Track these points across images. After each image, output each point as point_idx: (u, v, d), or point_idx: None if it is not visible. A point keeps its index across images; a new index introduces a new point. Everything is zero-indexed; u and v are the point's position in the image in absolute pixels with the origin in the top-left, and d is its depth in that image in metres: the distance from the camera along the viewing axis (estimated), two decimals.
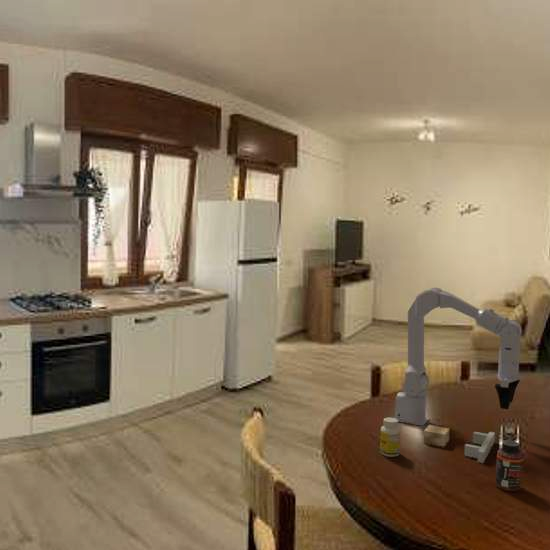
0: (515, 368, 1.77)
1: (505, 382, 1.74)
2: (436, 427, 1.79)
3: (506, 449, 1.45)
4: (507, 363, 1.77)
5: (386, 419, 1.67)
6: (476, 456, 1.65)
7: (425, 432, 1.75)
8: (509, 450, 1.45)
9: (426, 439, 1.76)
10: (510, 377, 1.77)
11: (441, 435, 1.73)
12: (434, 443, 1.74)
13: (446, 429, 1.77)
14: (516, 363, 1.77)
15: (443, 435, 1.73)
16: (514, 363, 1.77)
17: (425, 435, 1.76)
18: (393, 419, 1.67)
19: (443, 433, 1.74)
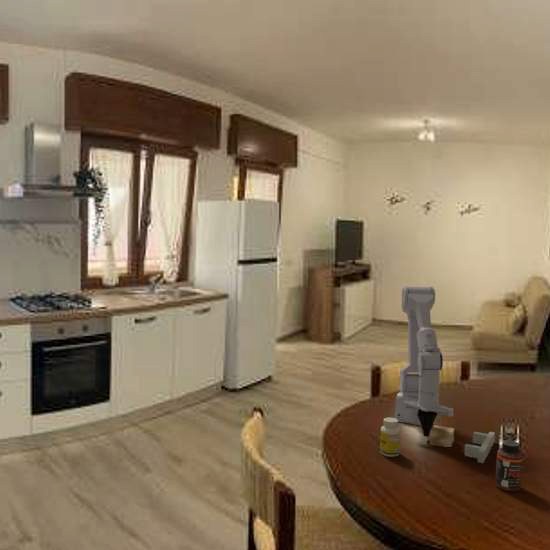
0: (420, 396, 1.76)
1: None
2: (441, 427, 1.78)
3: (506, 449, 1.45)
4: None
5: (386, 419, 1.67)
6: (476, 456, 1.65)
7: (431, 433, 1.74)
8: (509, 450, 1.45)
9: (432, 440, 1.75)
10: (418, 404, 1.78)
11: (448, 436, 1.72)
12: (440, 443, 1.74)
13: (451, 429, 1.77)
14: (421, 392, 1.76)
15: (450, 435, 1.72)
16: (419, 391, 1.77)
17: (431, 436, 1.74)
18: (393, 419, 1.67)
19: (449, 433, 1.73)
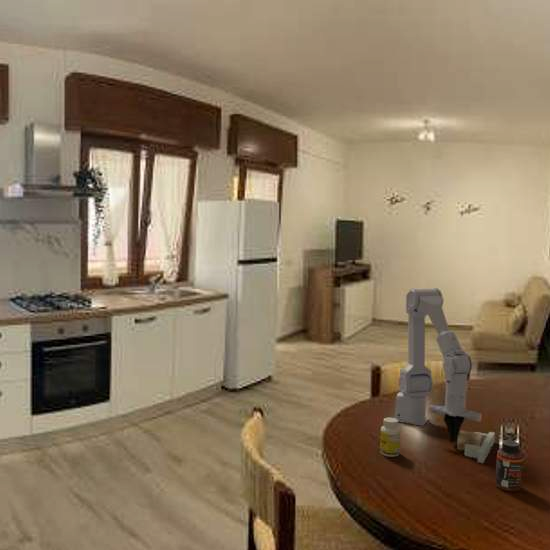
0: (447, 400, 1.72)
1: None
2: (468, 432, 1.75)
3: (506, 449, 1.45)
4: None
5: (386, 419, 1.67)
6: (476, 456, 1.65)
7: (459, 438, 1.71)
8: (509, 450, 1.45)
9: (460, 446, 1.71)
10: (445, 408, 1.74)
11: (476, 441, 1.69)
12: None
13: (479, 434, 1.73)
14: (448, 396, 1.72)
15: (478, 441, 1.69)
16: (446, 395, 1.73)
17: (459, 442, 1.71)
18: (393, 419, 1.67)
19: (478, 439, 1.70)
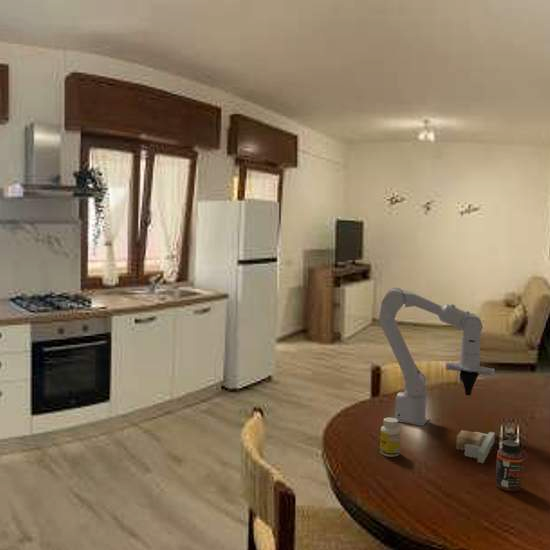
0: (463, 357, 1.88)
1: None
2: (469, 432, 1.75)
3: (506, 449, 1.45)
4: None
5: (386, 419, 1.67)
6: (476, 456, 1.65)
7: (458, 438, 1.71)
8: (509, 450, 1.45)
9: (459, 445, 1.71)
10: (460, 365, 1.90)
11: (475, 441, 1.69)
12: None
13: (480, 435, 1.73)
14: (463, 353, 1.88)
15: (477, 441, 1.69)
16: (462, 353, 1.88)
17: (458, 441, 1.71)
18: (393, 419, 1.67)
19: (477, 439, 1.70)
